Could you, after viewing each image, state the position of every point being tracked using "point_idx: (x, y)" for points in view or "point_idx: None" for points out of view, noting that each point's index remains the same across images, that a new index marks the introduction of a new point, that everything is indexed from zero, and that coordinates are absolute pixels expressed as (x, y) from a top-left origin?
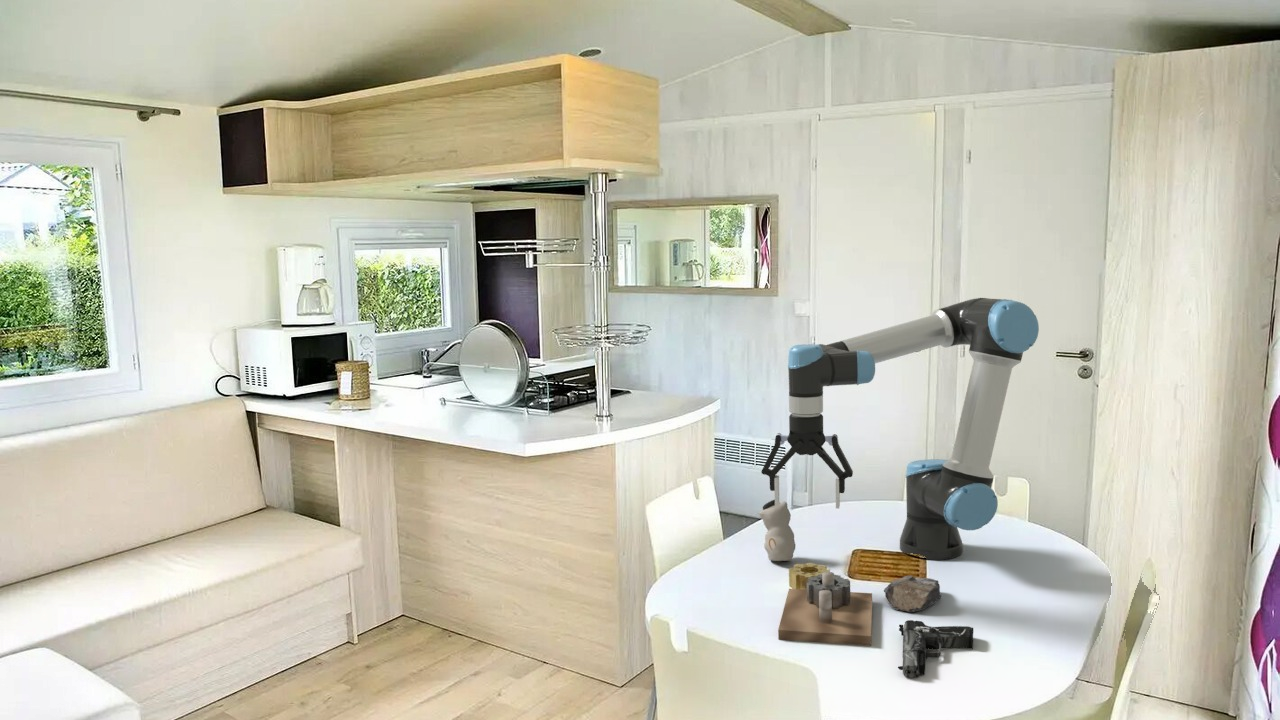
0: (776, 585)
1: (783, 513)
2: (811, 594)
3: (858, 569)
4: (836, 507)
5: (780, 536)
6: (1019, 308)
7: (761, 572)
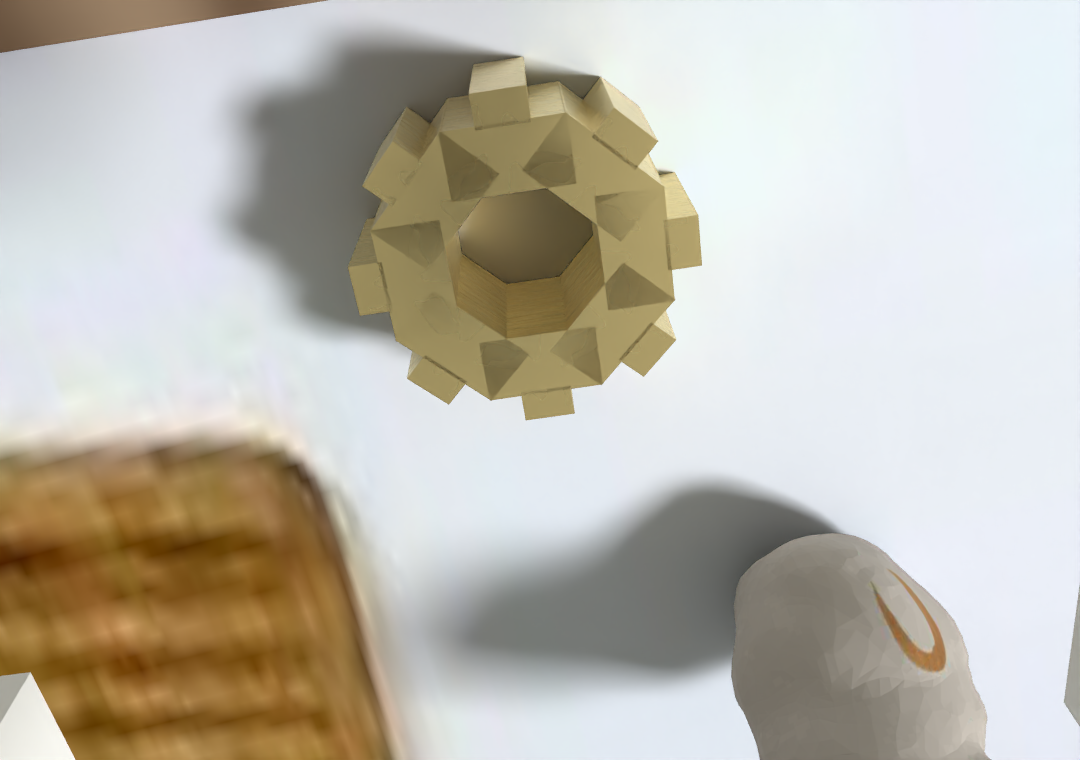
0: (776, 168)
1: None
2: None
3: (286, 596)
4: (13, 688)
5: (864, 695)
6: None
7: (920, 378)
